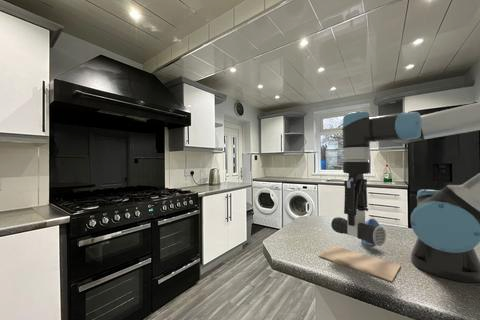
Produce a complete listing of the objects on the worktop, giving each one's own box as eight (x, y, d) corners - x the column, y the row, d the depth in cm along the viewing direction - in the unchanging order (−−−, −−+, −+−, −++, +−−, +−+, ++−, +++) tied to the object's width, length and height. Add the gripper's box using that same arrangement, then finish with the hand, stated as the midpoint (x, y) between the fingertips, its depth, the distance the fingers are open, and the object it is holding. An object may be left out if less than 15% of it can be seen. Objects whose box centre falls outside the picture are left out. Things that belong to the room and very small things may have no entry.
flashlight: (329, 232, 71) (329, 216, 71) (340, 230, 73) (339, 215, 74) (374, 247, 57) (374, 228, 57) (386, 244, 59) (385, 225, 60)
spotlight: (382, 246, 76) (366, 239, 83) (381, 219, 76) (366, 215, 83) (371, 247, 75) (356, 240, 82) (370, 220, 75) (356, 215, 82)
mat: (400, 266, 61) (400, 265, 61) (391, 282, 53) (391, 280, 53) (333, 246, 76) (333, 245, 76) (318, 256, 68) (318, 255, 68)
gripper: (354, 161, 74) (354, 223, 74) (331, 161, 61) (331, 237, 61) (378, 161, 69) (378, 228, 69) (358, 161, 56) (359, 244, 56)
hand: (356, 232), depth 65 cm, fingers closed on flashlight, 6 cm apart
